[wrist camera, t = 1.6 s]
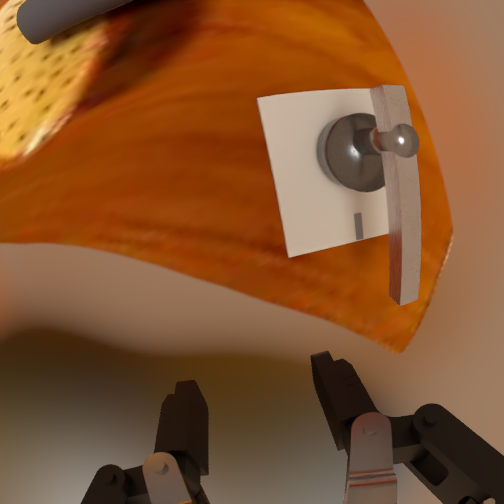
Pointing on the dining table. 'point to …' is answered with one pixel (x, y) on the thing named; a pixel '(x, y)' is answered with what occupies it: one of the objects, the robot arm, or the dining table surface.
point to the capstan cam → (382, 176)
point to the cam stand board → (316, 172)
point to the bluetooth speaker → (58, 16)
